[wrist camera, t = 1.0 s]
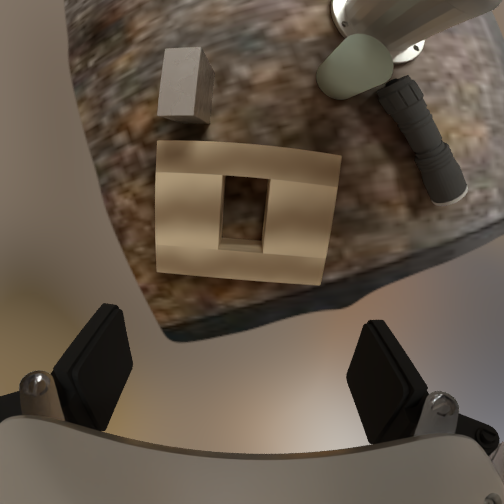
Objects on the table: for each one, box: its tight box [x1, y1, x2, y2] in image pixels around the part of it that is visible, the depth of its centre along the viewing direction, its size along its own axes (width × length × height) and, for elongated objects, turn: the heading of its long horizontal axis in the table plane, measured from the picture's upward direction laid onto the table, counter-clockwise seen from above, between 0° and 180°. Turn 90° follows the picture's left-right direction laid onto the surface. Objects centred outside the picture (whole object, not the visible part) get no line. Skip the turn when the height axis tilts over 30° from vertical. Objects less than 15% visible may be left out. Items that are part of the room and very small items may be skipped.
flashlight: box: [376, 75, 468, 206], centre depth 26 cm, size 15×5×5 cm, turn 37°
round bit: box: [316, 34, 393, 100], centre depth 22 cm, size 5×5×9 cm
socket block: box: [155, 140, 342, 285], centre depth 30 cm, size 14×18×4 cm
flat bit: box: [157, 47, 215, 124], centre depth 23 cm, size 6×3×9 cm, turn 175°
